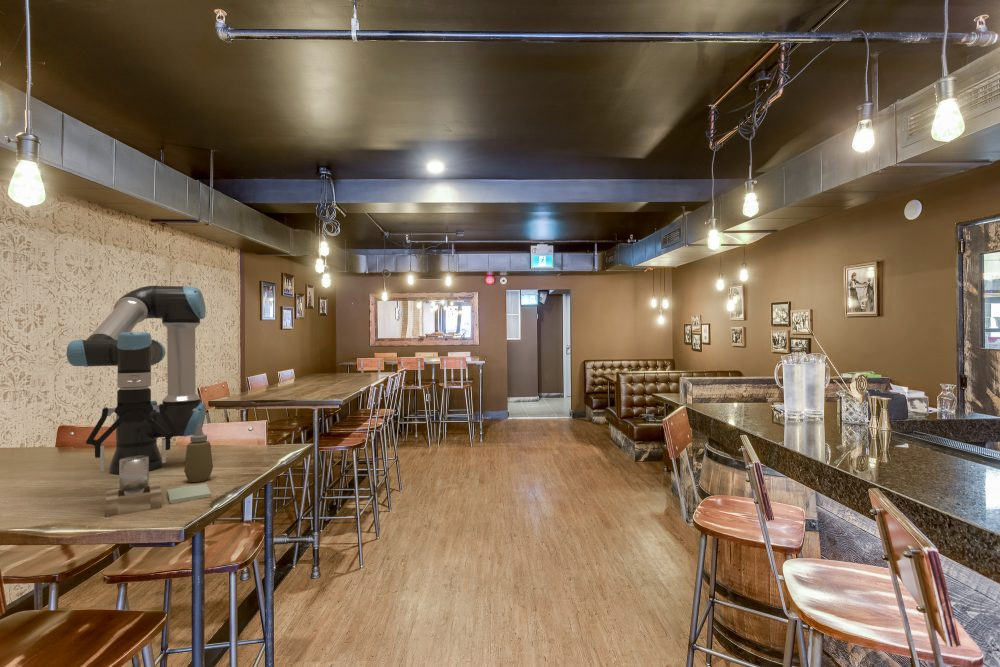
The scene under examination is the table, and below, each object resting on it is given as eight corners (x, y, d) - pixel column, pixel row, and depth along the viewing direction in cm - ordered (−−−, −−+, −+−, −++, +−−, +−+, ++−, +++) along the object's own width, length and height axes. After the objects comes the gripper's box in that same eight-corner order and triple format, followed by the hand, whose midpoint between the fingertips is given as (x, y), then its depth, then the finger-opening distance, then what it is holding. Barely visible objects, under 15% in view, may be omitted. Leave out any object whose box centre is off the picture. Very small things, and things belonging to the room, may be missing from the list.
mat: (167, 493, 149) (167, 489, 149) (206, 486, 155) (206, 483, 155) (169, 503, 139) (169, 500, 139) (211, 496, 145) (211, 493, 145)
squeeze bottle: (178, 481, 161) (178, 425, 161) (203, 475, 168) (203, 421, 168) (193, 485, 157) (193, 427, 157) (218, 478, 164) (218, 423, 164)
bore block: (107, 504, 139) (107, 489, 139) (159, 496, 146) (159, 482, 146) (105, 516, 129) (105, 501, 129) (161, 507, 136) (161, 492, 136)
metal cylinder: (119, 505, 138) (119, 457, 139) (148, 500, 142) (148, 454, 142) (119, 511, 133) (119, 462, 133) (149, 506, 137) (149, 458, 137)
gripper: (73, 392, 128) (73, 475, 127) (188, 386, 142) (188, 461, 142) (76, 390, 134) (75, 470, 133) (186, 384, 148) (186, 456, 148)
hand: (133, 465), depth 138 cm, fingers open, 13 cm apart
